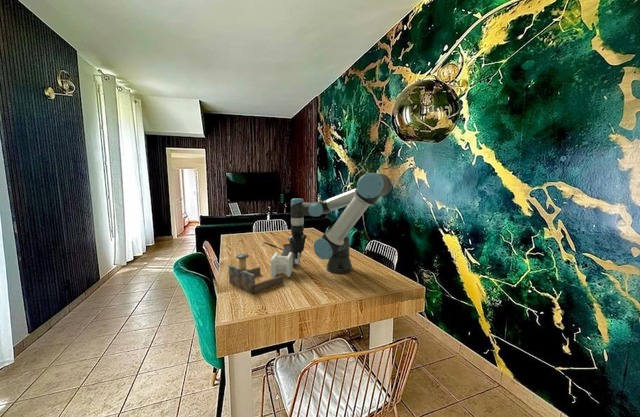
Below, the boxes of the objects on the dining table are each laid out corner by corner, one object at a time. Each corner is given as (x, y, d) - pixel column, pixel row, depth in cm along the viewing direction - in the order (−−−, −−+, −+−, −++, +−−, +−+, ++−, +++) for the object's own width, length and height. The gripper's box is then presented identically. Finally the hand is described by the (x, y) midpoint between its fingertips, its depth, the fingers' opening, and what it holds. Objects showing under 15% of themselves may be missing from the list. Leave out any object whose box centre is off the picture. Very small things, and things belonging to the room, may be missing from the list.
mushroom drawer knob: (251, 272, 151) (250, 255, 151) (240, 275, 146) (239, 257, 146) (245, 269, 156) (244, 253, 155) (234, 272, 151) (233, 255, 150)
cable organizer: (289, 279, 139) (289, 258, 138) (270, 279, 140) (269, 258, 139) (293, 270, 154) (292, 251, 153) (275, 270, 155) (274, 251, 154)
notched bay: (283, 283, 134) (282, 266, 133) (252, 294, 121) (252, 275, 120) (259, 273, 149) (258, 258, 148) (229, 282, 136) (228, 265, 135)
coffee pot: (297, 262, 171) (297, 239, 170) (296, 267, 160) (296, 243, 159) (265, 262, 170) (264, 240, 169) (261, 268, 159) (261, 244, 158)
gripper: (301, 222, 161) (301, 260, 163) (284, 225, 151) (285, 264, 154) (309, 224, 155) (309, 262, 158) (292, 226, 146) (293, 267, 148)
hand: (297, 263), depth 156 cm, fingers closed
